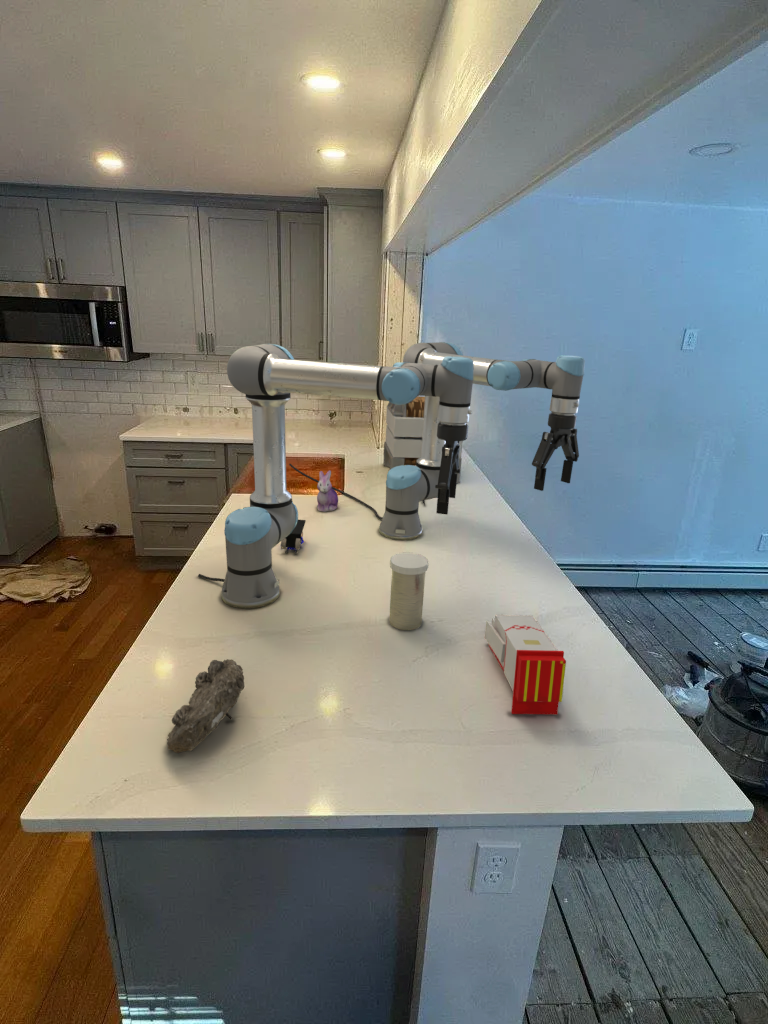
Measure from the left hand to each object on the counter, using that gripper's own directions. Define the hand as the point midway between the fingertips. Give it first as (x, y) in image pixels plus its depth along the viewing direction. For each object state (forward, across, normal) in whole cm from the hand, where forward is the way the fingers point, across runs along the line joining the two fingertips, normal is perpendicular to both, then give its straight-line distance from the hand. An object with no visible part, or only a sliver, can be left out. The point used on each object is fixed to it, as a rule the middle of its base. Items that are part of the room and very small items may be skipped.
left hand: (446, 505), depth 145 cm
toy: (+28, -27, -22) cm, 44 cm away
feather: (+28, +90, +21) cm, 96 cm away
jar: (+28, -13, +6) cm, 32 cm away
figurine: (+28, +60, +54) cm, 86 cm away
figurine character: (+28, +20, +51) cm, 62 cm away
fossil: (+28, -59, +34) cm, 74 cm away
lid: (+11, -13, +6) cm, 18 cm away
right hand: (0, +29, -27) cm, 39 cm away
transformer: (+28, +124, +30) cm, 131 cm away
